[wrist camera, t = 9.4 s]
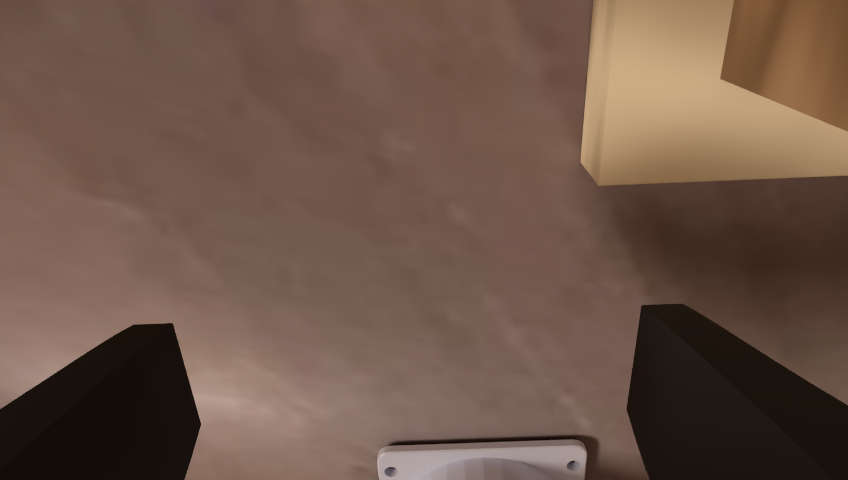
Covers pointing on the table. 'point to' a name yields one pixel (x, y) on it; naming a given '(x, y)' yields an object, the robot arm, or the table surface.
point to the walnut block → (792, 54)
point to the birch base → (687, 104)
